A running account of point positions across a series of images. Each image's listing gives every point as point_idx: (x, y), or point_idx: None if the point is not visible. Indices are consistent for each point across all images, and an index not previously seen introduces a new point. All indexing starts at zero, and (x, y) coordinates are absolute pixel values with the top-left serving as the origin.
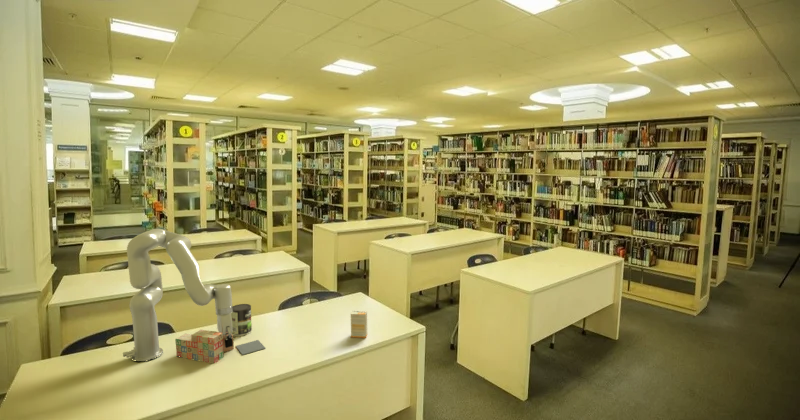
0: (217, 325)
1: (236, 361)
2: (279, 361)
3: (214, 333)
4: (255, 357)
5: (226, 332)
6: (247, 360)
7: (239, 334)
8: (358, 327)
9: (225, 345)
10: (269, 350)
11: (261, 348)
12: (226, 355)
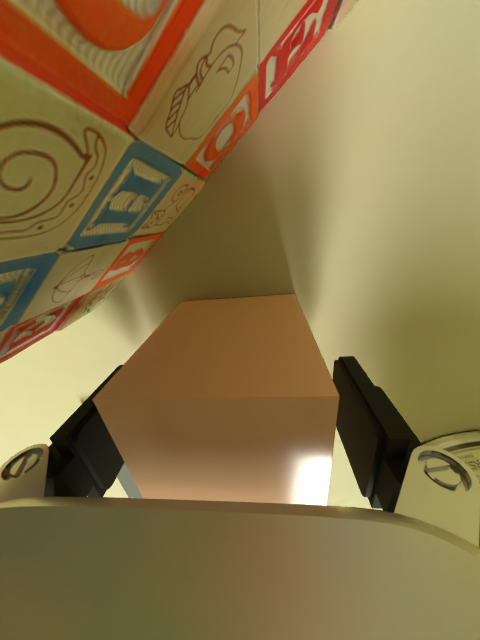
0: None
1: (8, 364)
2: None
3: None
4: (44, 442)
5: (320, 503)
6: (14, 409)
7: None
8: None
9: (109, 378)
10: (107, 495)
11: (127, 486)
12: (116, 329)
